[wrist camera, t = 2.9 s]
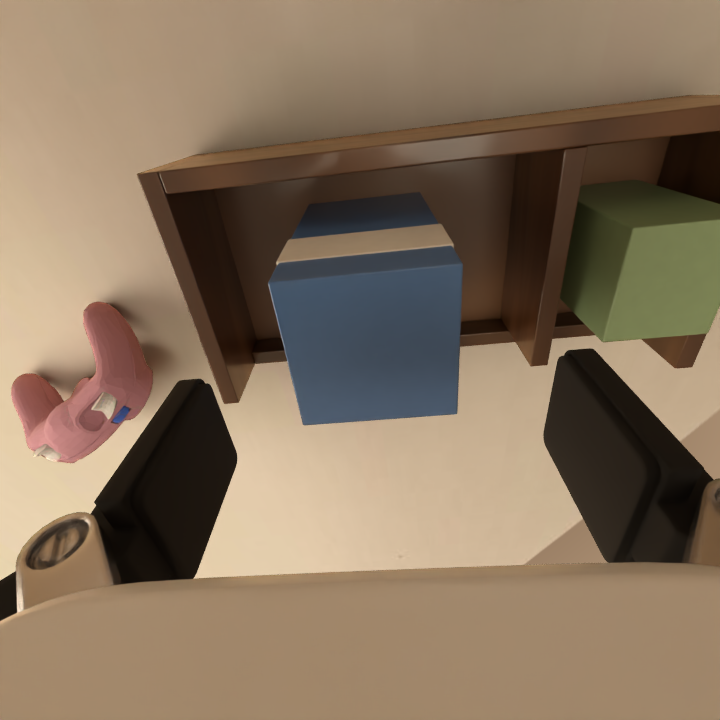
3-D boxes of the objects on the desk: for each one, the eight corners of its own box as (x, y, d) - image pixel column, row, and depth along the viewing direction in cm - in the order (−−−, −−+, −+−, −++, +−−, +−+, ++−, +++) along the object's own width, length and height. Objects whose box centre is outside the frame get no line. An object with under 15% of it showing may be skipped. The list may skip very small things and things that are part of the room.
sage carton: (537, 276, 22) (602, 343, 16) (550, 188, 19) (633, 227, 13) (613, 269, 21) (708, 334, 15) (637, 179, 19) (760, 215, 13)
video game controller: (86, 395, 29) (73, 486, 25) (10, 375, 26) (-18, 478, 22) (168, 322, 26) (169, 414, 22) (94, 289, 22) (79, 392, 19)
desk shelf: (250, 345, 25) (223, 404, 20) (193, 154, 19) (135, 173, 14) (624, 312, 24) (692, 367, 19) (688, 95, 18) (810, 93, 13)
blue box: (324, 305, 23) (301, 427, 14) (307, 203, 20) (265, 281, 11) (423, 296, 22) (458, 415, 14) (421, 190, 19) (465, 261, 11)
